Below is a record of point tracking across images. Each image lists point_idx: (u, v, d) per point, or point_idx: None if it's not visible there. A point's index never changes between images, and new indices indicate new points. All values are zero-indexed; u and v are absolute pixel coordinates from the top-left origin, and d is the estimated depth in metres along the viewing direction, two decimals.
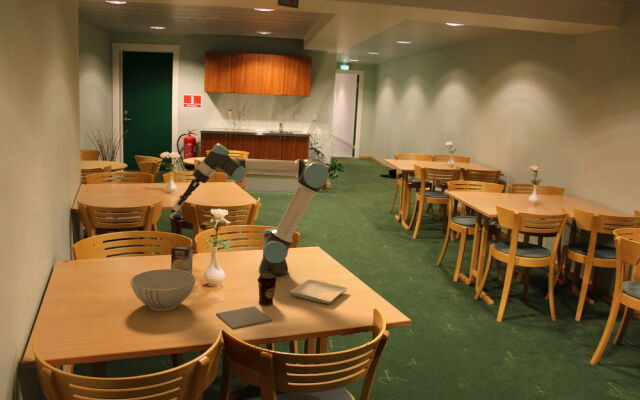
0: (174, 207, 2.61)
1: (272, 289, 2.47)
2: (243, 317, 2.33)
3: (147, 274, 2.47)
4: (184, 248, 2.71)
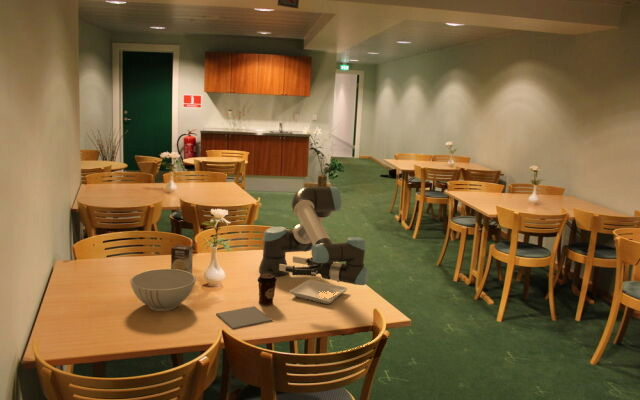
0: None
1: (272, 289, 2.47)
2: (243, 317, 2.33)
3: (147, 274, 2.47)
4: (184, 248, 2.71)
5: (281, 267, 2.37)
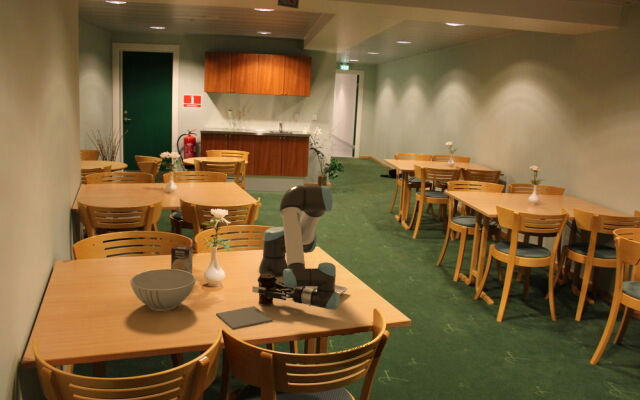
0: None
1: (272, 289, 2.47)
2: (243, 317, 2.33)
3: (147, 274, 2.47)
4: (184, 248, 2.71)
5: (254, 289, 2.47)
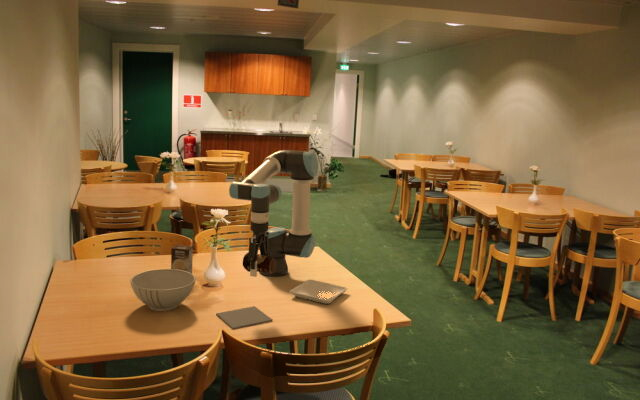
0: None
1: None
2: (243, 317, 2.33)
3: (147, 274, 2.47)
4: (184, 248, 2.71)
5: (252, 274, 2.35)
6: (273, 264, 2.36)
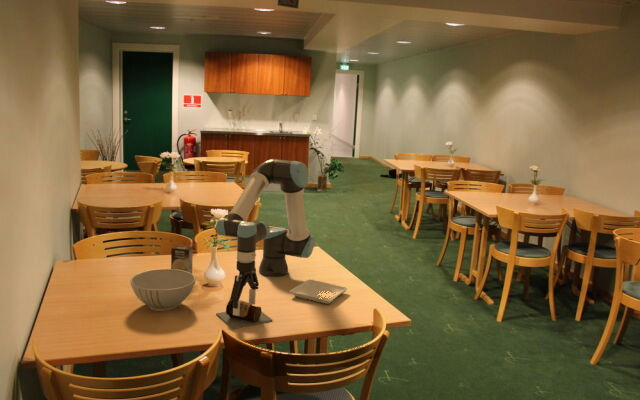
0: None
1: None
2: None
3: (147, 274, 2.47)
4: (184, 248, 2.71)
5: (235, 313, 2.26)
6: (257, 313, 2.28)
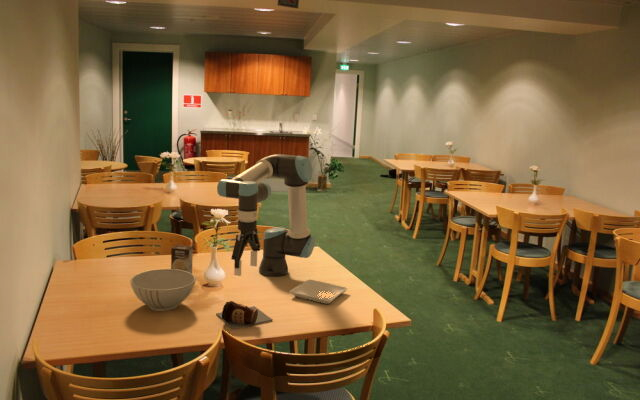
0: None
1: (234, 320, 2.24)
2: None
3: (147, 274, 2.47)
4: (184, 248, 2.71)
5: (237, 273, 2.23)
6: (254, 317, 2.25)
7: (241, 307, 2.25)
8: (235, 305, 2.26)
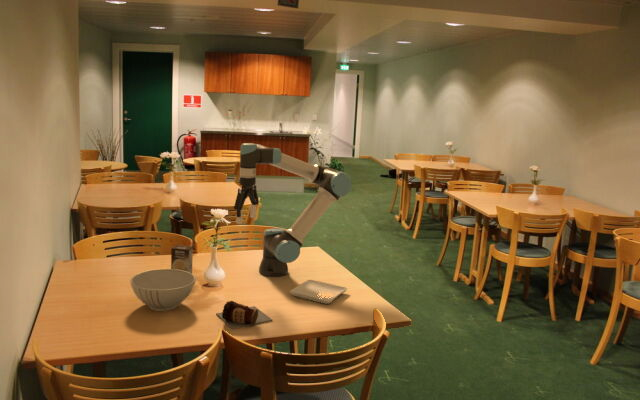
0: None
1: (234, 319, 2.24)
2: None
3: (147, 274, 2.47)
4: (184, 248, 2.71)
5: (238, 221, 2.60)
6: (254, 317, 2.25)
7: (242, 306, 2.26)
8: (236, 304, 2.26)
